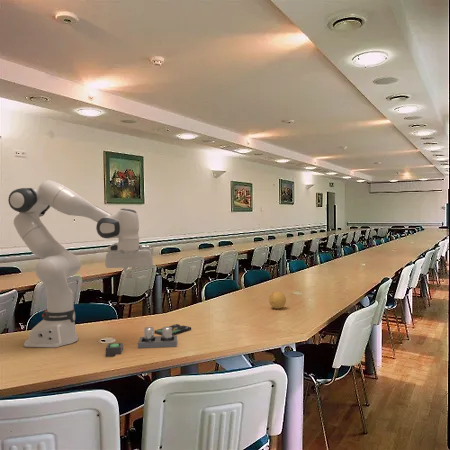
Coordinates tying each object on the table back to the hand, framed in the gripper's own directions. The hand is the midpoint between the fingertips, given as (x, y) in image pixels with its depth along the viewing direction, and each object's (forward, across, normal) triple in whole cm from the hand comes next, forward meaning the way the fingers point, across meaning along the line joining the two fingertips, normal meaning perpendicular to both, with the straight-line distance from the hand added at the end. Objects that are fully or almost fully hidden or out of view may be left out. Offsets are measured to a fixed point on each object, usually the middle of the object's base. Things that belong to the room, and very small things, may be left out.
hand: (129, 277), depth 189 cm
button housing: (+29, +5, +13) cm, 32 cm away
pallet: (+29, -12, +5) cm, 32 cm away
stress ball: (+29, -77, -57) cm, 100 cm away
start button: (+27, +5, +13) cm, 30 cm away
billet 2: (+28, -16, +5) cm, 33 cm away
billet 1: (+28, -8, +5) cm, 30 cm away
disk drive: (+30, -18, -14) cm, 37 cm away
